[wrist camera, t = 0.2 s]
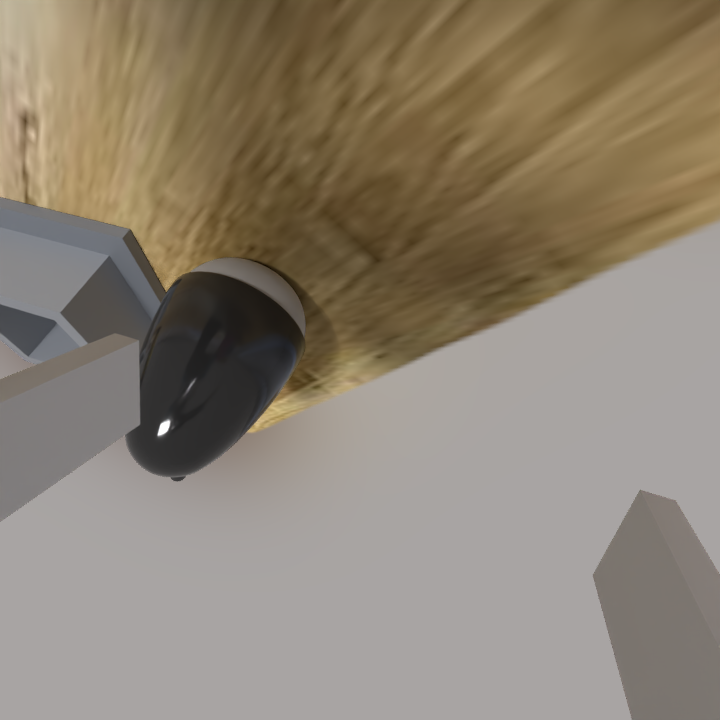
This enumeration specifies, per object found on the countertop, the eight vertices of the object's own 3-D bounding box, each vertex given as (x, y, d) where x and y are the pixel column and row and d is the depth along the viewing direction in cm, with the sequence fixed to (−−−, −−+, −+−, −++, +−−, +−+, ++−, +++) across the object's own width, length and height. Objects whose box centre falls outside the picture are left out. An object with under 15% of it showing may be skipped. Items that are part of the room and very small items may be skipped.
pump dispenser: (206, 303, 39) (100, 466, 31) (187, 212, 30) (32, 409, 22) (317, 345, 39) (237, 519, 31) (330, 266, 30) (224, 483, 22)
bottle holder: (-62, 181, 37) (-137, 240, 33) (129, 229, 34) (70, 298, 30) (62, 317, 52) (20, 367, 48) (202, 358, 49) (168, 414, 45)
